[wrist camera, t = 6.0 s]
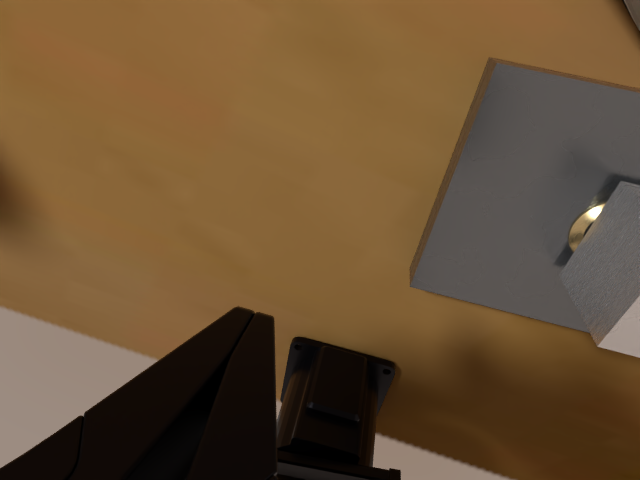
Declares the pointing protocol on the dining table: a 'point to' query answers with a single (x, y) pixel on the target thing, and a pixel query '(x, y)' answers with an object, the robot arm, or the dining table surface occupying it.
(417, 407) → the dining table surface
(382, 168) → the dining table surface
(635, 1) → the caliper
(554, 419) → the dining table surface
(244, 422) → the robot arm
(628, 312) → the block
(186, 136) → the dining table surface
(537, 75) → the plate
